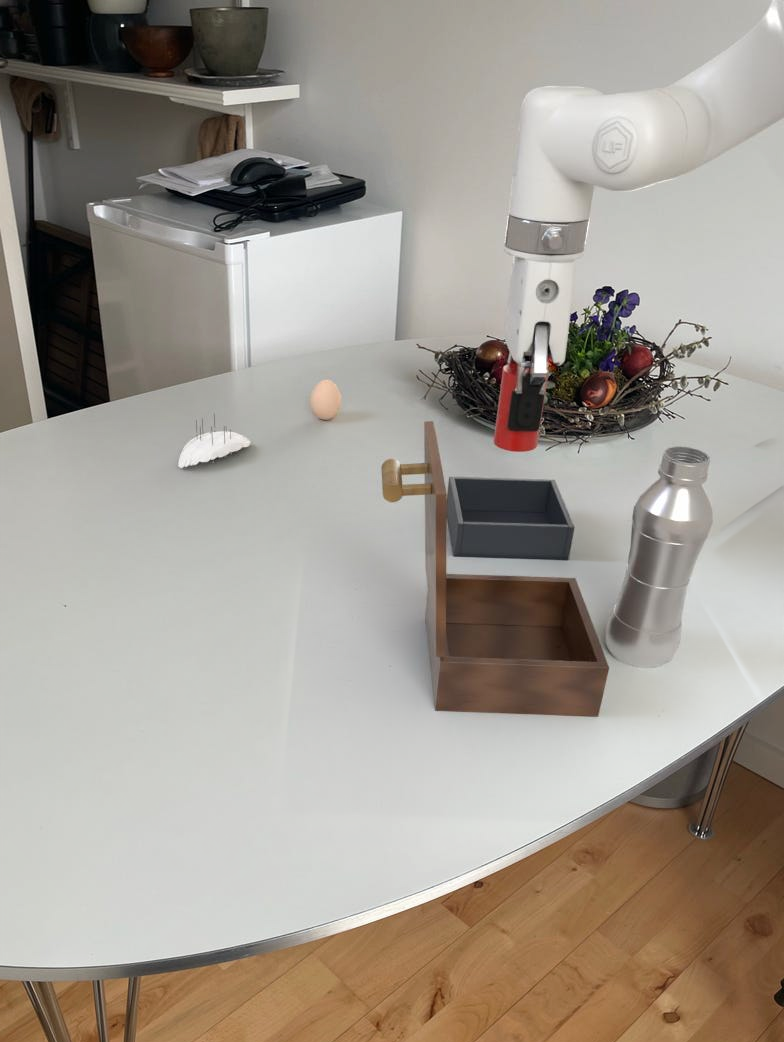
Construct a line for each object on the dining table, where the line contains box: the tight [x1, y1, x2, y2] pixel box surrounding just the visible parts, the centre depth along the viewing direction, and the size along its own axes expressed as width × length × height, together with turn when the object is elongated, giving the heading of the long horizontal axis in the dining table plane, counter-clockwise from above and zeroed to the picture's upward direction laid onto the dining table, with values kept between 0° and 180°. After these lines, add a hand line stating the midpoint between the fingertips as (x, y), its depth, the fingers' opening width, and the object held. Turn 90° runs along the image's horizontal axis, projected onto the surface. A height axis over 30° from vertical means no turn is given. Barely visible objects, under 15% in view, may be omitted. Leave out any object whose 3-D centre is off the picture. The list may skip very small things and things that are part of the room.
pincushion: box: [177, 413, 252, 469], centre depth 126 cm, size 12×6×6 cm, turn 135°
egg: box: [309, 379, 342, 421], centre depth 138 cm, size 4×4×6 cm
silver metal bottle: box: [604, 445, 714, 669], centre depth 84 cm, size 6×7×20 cm
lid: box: [380, 420, 448, 657], centre depth 81 cm, size 14×15×5 cm
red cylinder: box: [493, 363, 549, 453], centre depth 101 cm, size 5×5×8 cm
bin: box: [446, 476, 575, 561], centre depth 108 cm, size 12×12×4 cm
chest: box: [424, 573, 610, 718], centre depth 86 cm, size 14×15×6 cm
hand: (519, 418), depth 102 cm, fingers closed on red cylinder, 4 cm apart
